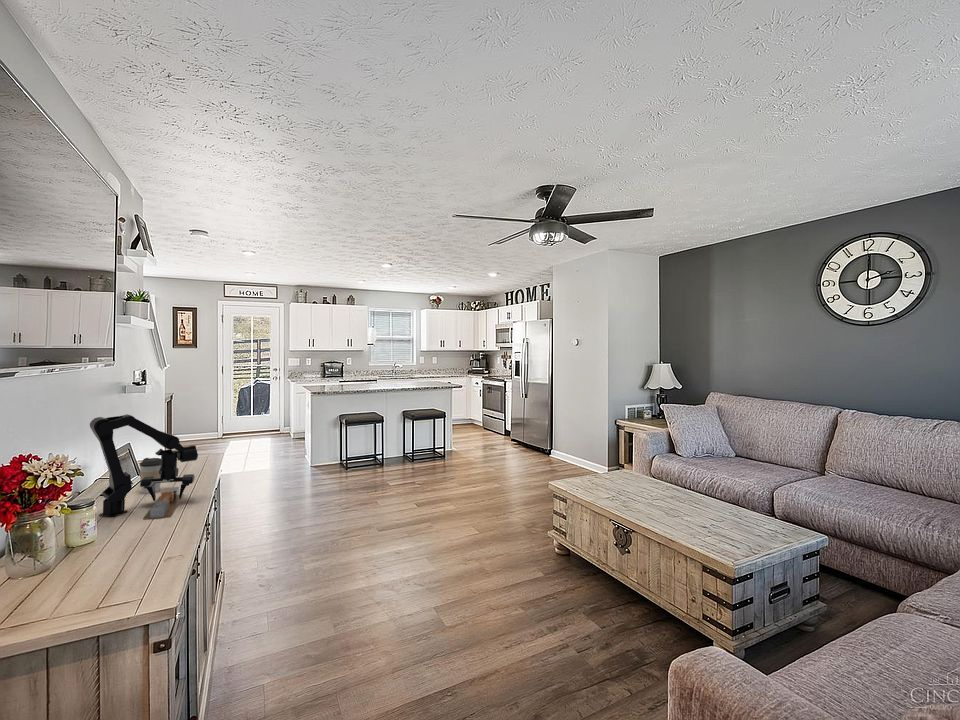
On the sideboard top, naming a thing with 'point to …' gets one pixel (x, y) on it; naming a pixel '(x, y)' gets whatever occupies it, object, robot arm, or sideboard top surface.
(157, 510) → the tube base
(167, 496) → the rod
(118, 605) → the sideboard top surface
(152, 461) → the coffee cup
